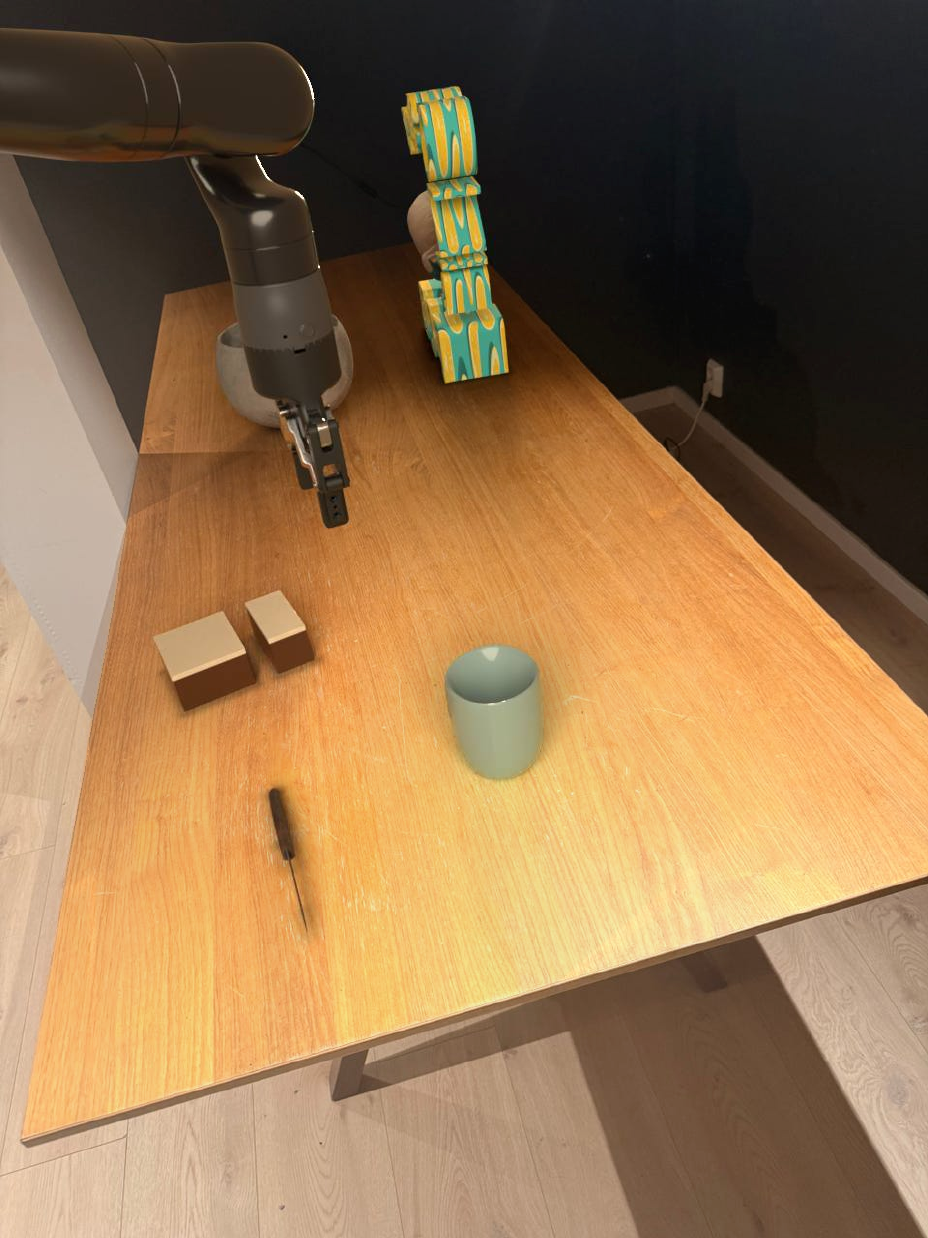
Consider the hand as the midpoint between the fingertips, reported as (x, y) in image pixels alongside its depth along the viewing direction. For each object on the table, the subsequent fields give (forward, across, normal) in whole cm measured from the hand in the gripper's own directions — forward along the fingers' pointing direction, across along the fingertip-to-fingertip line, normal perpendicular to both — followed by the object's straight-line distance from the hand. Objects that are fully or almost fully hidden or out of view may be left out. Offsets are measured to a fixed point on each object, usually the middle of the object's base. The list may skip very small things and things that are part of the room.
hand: (323, 505), depth 87 cm
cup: (+19, +20, +7) cm, 28 cm away
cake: (+19, -6, -14) cm, 24 cm away
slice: (+18, -7, -6) cm, 21 cm away
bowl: (+18, -65, +10) cm, 68 cm away
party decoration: (+17, -76, +43) cm, 89 cm away
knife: (+19, +22, -12) cm, 32 cm away
